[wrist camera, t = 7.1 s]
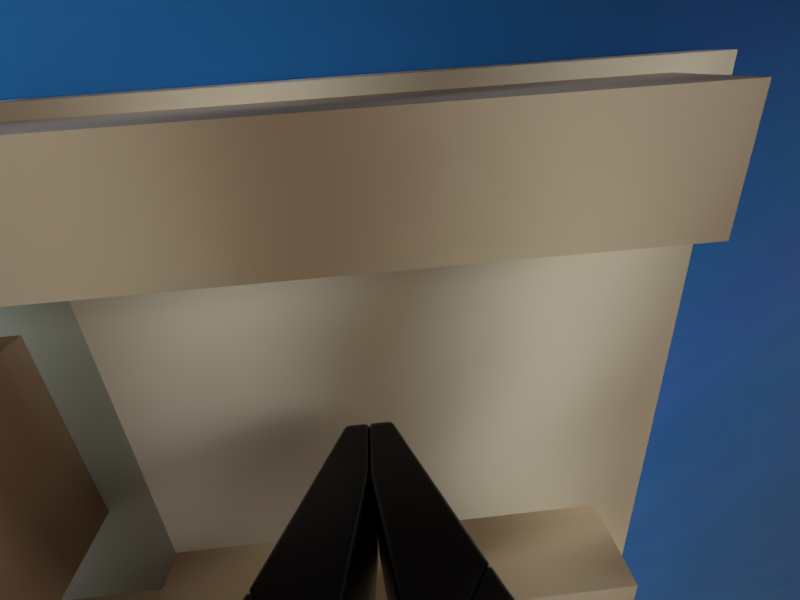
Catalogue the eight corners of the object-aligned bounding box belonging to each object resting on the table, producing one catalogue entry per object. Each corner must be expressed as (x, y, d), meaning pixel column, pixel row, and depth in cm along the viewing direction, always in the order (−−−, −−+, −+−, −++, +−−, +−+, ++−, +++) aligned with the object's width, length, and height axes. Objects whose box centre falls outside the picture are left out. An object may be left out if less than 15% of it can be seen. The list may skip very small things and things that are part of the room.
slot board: (696, 49, 8) (862, 46, 5) (603, 526, 14) (664, 641, 11) (-803, 158, 7) (-1501, 219, 4) (-253, 626, 13) (-418, 781, 10)
